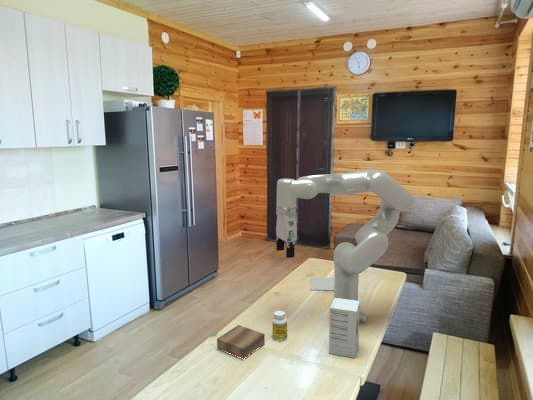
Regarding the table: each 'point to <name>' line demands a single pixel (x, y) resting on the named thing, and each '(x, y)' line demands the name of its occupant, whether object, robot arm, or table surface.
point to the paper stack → (322, 283)
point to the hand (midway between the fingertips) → (285, 253)
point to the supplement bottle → (279, 326)
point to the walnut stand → (241, 341)
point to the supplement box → (344, 327)
